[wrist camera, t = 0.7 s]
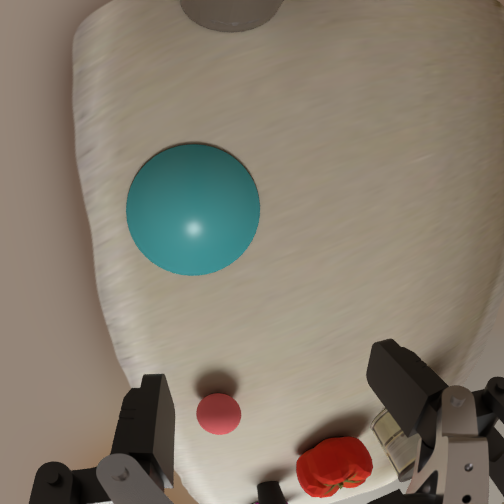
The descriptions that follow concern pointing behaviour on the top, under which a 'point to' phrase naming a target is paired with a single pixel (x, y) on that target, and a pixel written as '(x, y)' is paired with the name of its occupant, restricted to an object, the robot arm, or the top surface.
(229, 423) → the ball
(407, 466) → the coffee can
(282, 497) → the drinking cup
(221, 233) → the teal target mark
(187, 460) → the top surface
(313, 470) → the tomato
